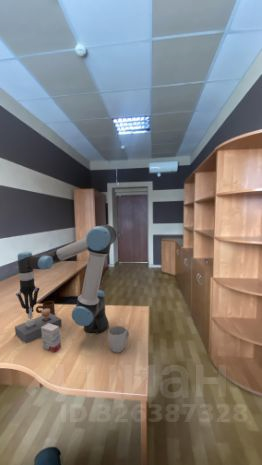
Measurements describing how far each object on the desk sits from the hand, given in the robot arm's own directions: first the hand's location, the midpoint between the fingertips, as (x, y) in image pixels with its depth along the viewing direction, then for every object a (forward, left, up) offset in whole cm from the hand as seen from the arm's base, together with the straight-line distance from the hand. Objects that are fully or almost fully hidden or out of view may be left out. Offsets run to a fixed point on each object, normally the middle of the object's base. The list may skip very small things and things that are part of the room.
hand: (30, 318), depth 126 cm
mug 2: (-50, -24, -10) cm, 56 cm away
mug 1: (+13, -16, -10) cm, 23 cm away
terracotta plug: (0, -10, -7) cm, 12 cm away
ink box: (-22, -1, -10) cm, 24 cm away
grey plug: (0, 0, -10) cm, 10 cm away
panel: (0, -5, -10) cm, 11 cm away
